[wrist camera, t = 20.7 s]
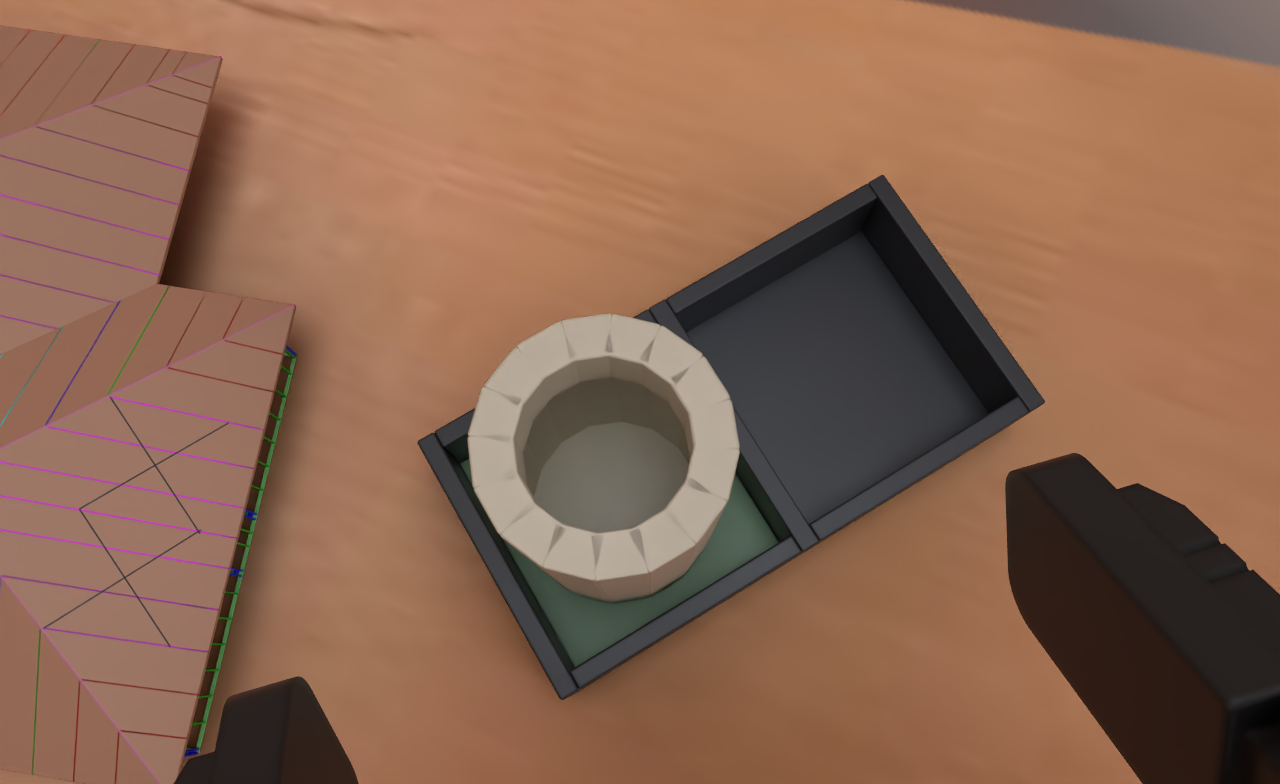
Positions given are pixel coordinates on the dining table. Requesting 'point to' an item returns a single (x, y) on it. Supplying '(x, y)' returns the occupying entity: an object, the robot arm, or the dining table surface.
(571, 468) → the jar
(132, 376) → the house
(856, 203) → the tray
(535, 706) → the dining table surface
